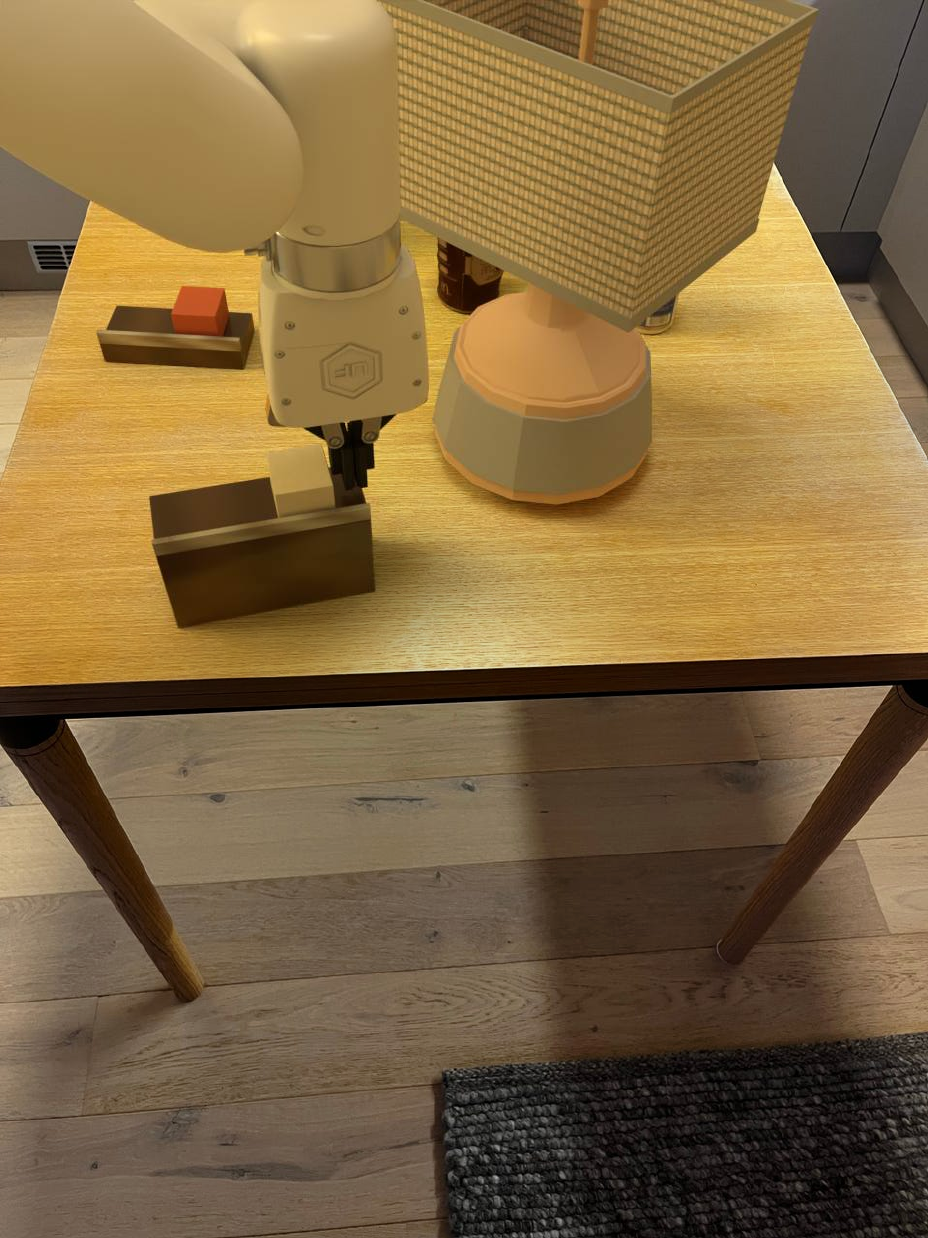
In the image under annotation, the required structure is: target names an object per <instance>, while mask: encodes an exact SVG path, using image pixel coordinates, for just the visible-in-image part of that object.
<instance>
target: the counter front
mask: <svg viewBox="0 0 928 1238" xmlns="http://www.w3.org/2000/svg"><path fill="white" fill-rule="evenodd" d="M328 468H329V472H330V476H331V479H332V483H333V489H334V499H335V509H330V510H324V511H318V512H312V513H306V514H300V515H294V516H288V517H282V518H278V514H277V510H276V505H275V501H274V496H273V491H272V487H271V482H270V476H266V477H259V478H254V479H247V480H241V481H235V482H229V483H222V484H216V485H211V486H210V485H209V486H203V487H197V488H192V489H185V490H179V491H173V492H172V491H171V492H165V493H160V494H154V495H153V494H152V495H149V497H148V500H149V501H148V502H149V509H150V510H149V511H150V518H151V527H152V535H153V536H152V537H153V538H152V539H151V546H152V549H153V552H154V555H155V559H156V562H157V565H158V568H159V571H160V575H161V577H162V578H161V579H162V581H163V584H164V587H165V591H166V594H167V597H168V601H169V604H170V607H171V611H172V614H173V616H174V619H175V623H176V626H177V628H184V627H189V626H194V625H199V624H205V623H211V622H217V621H221V620H226V619H231V618H232V619H233V618H237V617H243V616H248V615H253V614H259V613H265V612H271V611H276V610H281V609H287V608H291V607H298V606H301V605H309V604H313V603H318V602H323V601H328V600H334V599H340V598H346V597H351V596H357V595H362V594H366V593H367V594H368V593H373V592H376V580H375V579H376V578H375V577H376V576H375V564H374V563H375V561H374V560H375V559H374V545H373V544H374V543H373V527H372V525H373V524H372V509H371V504H370V502H367V501H366V497H365V493H364V490H363V488H360V487H357V484H356V480H355V487H354V488H353V490H348V491H346V490H345V487H344V483H343V480H342V476H341V474H337V475H332V471H331V467H330V466H328Z"/></svg>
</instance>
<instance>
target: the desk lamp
mask: <svg viewBox="0 0 928 1238" xmlns="http://www.w3.org/2000/svg"><path fill="white" fill-rule="evenodd" d="M376 1H378V2H379V3H380V4H381V5H382V6H383V7H384V8H385V10H386V11H387V13H388V14H389V16H390V17H391V20H392V22H393V25H394V29H395V33H396V40H397V57H398V114H399V170H400V217H401V221H404V222H406V223H408V224H410V225H412V226H414V227H416V228H418V229H420V230H422V231H424V232H425V233H428V234H430V235H431V236H434V237H436V238H437V237H438V238H440V239H442V240H444V241H446V242H448V243H450V244H452V245H454V246H456V247H458V248H460V249H462V250H464V251H466V252H468V253H470V254H472V255H474V256H476V257H478V258H480V259H482V260H484V261H486V262H488V263H490V264H492V265H494V266H496V267H498V268H500V269H502V270H504V272H506V273H508V274H509V275H512V276H514V277H516V278H518V279H520V280H522V281H524V282H526V283H528V288H527V291H521V292H513V293H507V294H504V295H501V296H499V298H497V299H495V300H492V301H490V302H488V303H486V304H484V305H481V306H479V307H478V308H477V309H476V310H475V311H474V312H473V313H471V314H470V315H469V316H468V317H467V318H466V319H465V320H464V321H463V322H462V324H461V325H460V326H459V327H458V328H457V329H456V330H455V331H454V332H453V335H452V339H451V343H450V347H449V350H448V354H447V358H446V362H445V365H444V368H443V372H442V375H441V379H440V384H439V387H438V391H437V394H436V400H435V404H434V405H435V406H434V411H433V415H432V423H433V425H434V428H433V432H434V435H435V438H436V439H437V440H436V441H437V443H438V445H439V447H440V450H441V453H442V455H443V457H444V459H445V461H446V462H447V463H448V464H450V465H451V466H452V467H453V468H454V469H456V470H457V471H458V472H459V473H460V474H461V475H462V476H463V477H465V479H467V480H468V481H469V482H470V483H471V484H472V485H474V486H477V487H480V488H482V489H485V490H487V491H489V492H491V493H494V494H497V495H499V496H502V497H504V498H507V499H509V500H512V501H518V502H528V503H539V504H548V505H562V504H568V503H572V502H578V501H583V500H584V501H585V500H588V499H595V498H599V497H601V496H603V495H605V494H606V493H608V492H610V491H612V490H613V489H615V488H617V487H618V486H620V485H622V484H623V483H626V482H627V481H629V480H630V479H632V478H633V476H634V474H635V473H636V472H637V470H638V469H639V467H640V466H641V465H642V462H643V461H644V459H645V458H646V457H647V455H648V453H649V448H650V446H651V445H652V443H653V396H652V362H651V360H652V359H651V357H652V356H651V351H650V349H649V347H648V346H647V343H646V341H645V339H644V338H643V337H642V335H641V333H639V332H638V330H637V329H636V327H637V326H638V325H639V324H640V323H642V322H643V321H644V320H645V319H647V318H648V317H649V316H651V315H652V314H653V313H654V312H656V311H657V310H658V309H659V308H661V307H662V306H663V305H664V304H666V303H667V302H668V301H669V300H671V299H672V298H673V297H674V296H676V295H677V294H678V293H679V294H680V293H681V292H683V290H684V289H687V288H688V286H690V285H691V284H692V283H693V282H695V281H696V280H697V279H699V278H700V277H701V276H702V275H703V274H705V273H706V272H708V270H710V269H711V268H713V267H714V266H715V265H716V264H718V263H719V262H720V261H722V259H725V257H726V256H728V255H729V254H730V253H731V252H733V251H734V250H735V249H737V248H738V247H739V246H740V245H741V244H743V243H744V242H745V241H747V240H748V239H749V238H750V237H752V236H753V235H754V234H755V233H756V232H757V229H758V226H759V222H760V217H759V216H760V213H761V209H762V206H763V203H764V199H765V195H766V191H767V188H768V185H769V181H770V177H771V174H772V170H773V167H774V163H775V159H776V156H777V153H778V148H779V146H780V141H781V138H782V135H783V132H784V127H785V124H786V122H787V121H786V120H787V117H788V113H789V110H790V106H791V104H792V103H791V102H792V98H793V96H794V92H795V88H796V84H797V81H798V77H799V74H800V71H801V67H802V63H803V60H804V57H805V53H806V49H807V46H808V43H809V39H810V34H811V31H812V29H813V28H812V27H813V26H814V25H815V24H816V20H817V16H818V12H819V8H817V7H813V6H810V5H806V4H803V3H800V2H797V1H794V0H376Z"/></svg>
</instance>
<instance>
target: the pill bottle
mask: <svg viewBox="0 0 928 1238" xmlns="http://www.w3.org/2000/svg"><path fill="white" fill-rule="evenodd" d="M679 297H680V293H678V294H677V295H676V296H674V297H673V298H672V299H671V300H669V301H668V302H667V303H666V304H664V305H663V306H662V307H661V308H659V309H658V310H657V311H656V312H654V313H653V314H652V315H651V316H649V317H648V318H647V319H645V320H644V321H643V322H642V323H640V324H639V325H638V326H637V327H636V329H637V330H638V332H639V333H640V334H644V335H656V334H660V333H663V332H665V331H667V330H668V329H669V328H671V326H672V325H673V323H674V319H675V315H676V314H675V313H676V310H677V305H678V300H679Z"/></svg>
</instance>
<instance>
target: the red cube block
mask: <svg viewBox="0 0 928 1238" xmlns="http://www.w3.org/2000/svg"><path fill="white" fill-rule="evenodd" d="M228 305H229V304H228V300H227V294H226V288H224V287H207V286H193V285H192V286H191V285H190V286H189V285H181V287H180V289H179V292H178V294H177V297H176V299H175V303H174V305H173V308H172V309H173V310H172V313H171V317H172V321H173V325H174V330H175V334H182V335H200V336H218V337H223V334H224V331H225V328H226V325H227V322H228V318H229V312H230V311H229V306H228Z"/></svg>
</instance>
